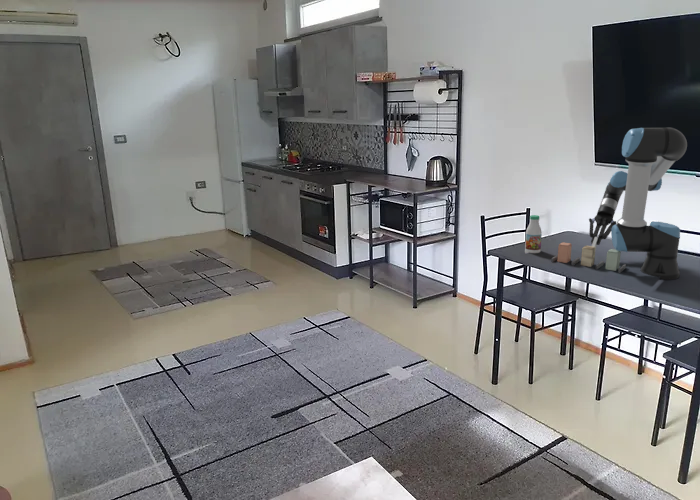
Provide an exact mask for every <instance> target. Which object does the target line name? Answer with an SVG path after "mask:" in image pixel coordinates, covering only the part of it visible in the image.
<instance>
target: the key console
mask: <svg viewBox="0 0 700 500" xmlns="http://www.w3.org/2000/svg"><path fill="white" fill-rule="evenodd" d="M557 260H558V254H556V255H555V256H553V257H552V258H551V259H550V261H551V263H553V262H555V261H557ZM579 262H581V257H579V256H578V257H577V258H575V259H573V260H572V261H571V266H575V265H576V264H577V263H579ZM604 264H605V261H604V260H602V261H600V262H598V264H596V265H595V270H598V269H600V268H601V267H603V266H604ZM626 268H627V264H626V263H625V264H623V265H621V266H619V269H618V270H617V272H618V274H621V273H622V272H623V271H624V270H625V269H626Z"/></svg>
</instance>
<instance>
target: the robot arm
mask: <svg viewBox="0 0 700 500" xmlns="http://www.w3.org/2000/svg"><path fill="white" fill-rule="evenodd" d="M687 147H688V142H687V139H686V136H685V135H684V134H683V132H682V131H680V130H678V129H676V128H674V127H637V128H631V129H629V130H628V131H627V132H626V134H625V135H624V137H623V140H622V145H621V155H622V156H623V157H624V158H625V162H626V163H627V164H628V168H627V172H626V171H623V170H618V171H615V172H614V173H613V174H612V177H610V179H609V182H608V183H607V185H606V187H605V190H604V193H603V197H602V199H601V201H600V204H599V208H598V210H597V212H596V215H595V216H594V218H590V217H589V218H588V221H589V232H588V233H589V237H590V238H591V241H590V243H591V246H593V247H595V248H596V249H595V251H597V247H598V246H600V244H601V241H602V240H607V238H608V237H609V236H610V234H611V242H612V246H613V249H616V250H617V251H621V252H626V253H628V252H629V253H630V252H631V253H633V252H635V253H646V257H645V260H644V262H643V263H642V265H641V266H640V272H641V273H643V274H645V275H649V276H652V277H658V278H659V280H666V281H667V280H671V281H672V280H676V279H679V277H680V272H681V271H680V269H679V264H678V253H679V246H680V239H681V228H680V227H679V226H677V225H675V224H672V223H669V222H668V223H667V222H662V221H651V222H650V223H649V225H648V222H647V221H646V220H645V212H646V208H647V207H646V205H647V200H648V199H647V198H648V192H653V191H655V192H657V191H659V190H660V189H661V188H662V186H663V185H662V183H663V180H662V178H663V176H665V174H666V173H667V172H668V170H669V169H670V168H671V167H672V166H673V165H674V163H675V162H676V161H678V160H680V159H681V158H683V156H684V155H685V153H686V151H687ZM623 193H624V198H623V205H622V212H621V214H622V215H621V217H620V218H619V219H618V220H617V221H616V220H614V217H615V213H616V211H617V207H618V204H619V202H620V199H621V196H622V194H623ZM595 223H596V226H595V228H594V224H595Z"/></svg>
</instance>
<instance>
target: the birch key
mask: <svg viewBox="0 0 700 500" xmlns="http://www.w3.org/2000/svg"><path fill="white" fill-rule="evenodd" d="M595 249H596V250H597V247H596V248H595V247H593V246H592V245H584V246H583V247H582V248H581V257H580V266H583V267H590V268H591V267H593V266H594V265H595V258H596V250H595Z"/></svg>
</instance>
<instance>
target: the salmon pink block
mask: <svg viewBox="0 0 700 500" xmlns="http://www.w3.org/2000/svg"><path fill="white" fill-rule="evenodd" d="M572 248H573V247H572V242H571V243H570V242H564V241H562V242H561V243H559V244H558V247H557V249H558V250H557V255H558V259H557V260H556V261H557V262H558V263H564V264H568V263H569V262H572V261H571V259H572V257H571V256H572Z"/></svg>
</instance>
